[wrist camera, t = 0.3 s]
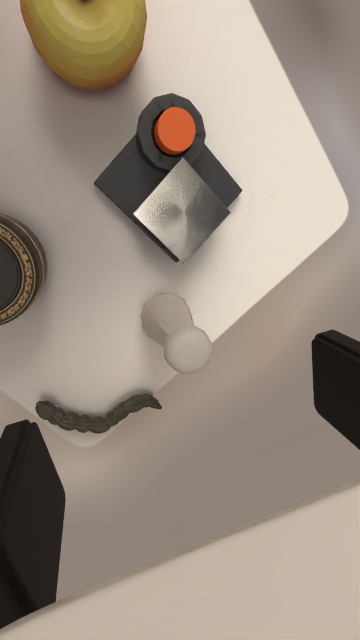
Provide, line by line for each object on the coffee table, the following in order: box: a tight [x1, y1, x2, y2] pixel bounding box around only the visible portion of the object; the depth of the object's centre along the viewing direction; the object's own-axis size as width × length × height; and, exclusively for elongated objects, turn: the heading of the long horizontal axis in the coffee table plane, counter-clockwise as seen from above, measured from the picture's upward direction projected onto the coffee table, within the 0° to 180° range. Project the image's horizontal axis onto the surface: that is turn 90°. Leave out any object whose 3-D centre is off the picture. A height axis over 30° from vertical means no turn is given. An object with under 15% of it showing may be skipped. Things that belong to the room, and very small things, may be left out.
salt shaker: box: [141, 293, 212, 374], centre depth 34 cm, size 6×6×13 cm
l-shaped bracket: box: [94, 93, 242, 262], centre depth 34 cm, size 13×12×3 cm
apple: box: [20, 0, 147, 90], centre depth 26 cm, size 10×10×8 cm
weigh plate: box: [133, 158, 231, 264], centre depth 34 cm, size 7×7×1 cm
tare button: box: [154, 107, 196, 155], centre depth 31 cm, size 4×4×2 cm
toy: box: [35, 394, 162, 433], centre depth 40 cm, size 15×5×3 cm, turn 86°
